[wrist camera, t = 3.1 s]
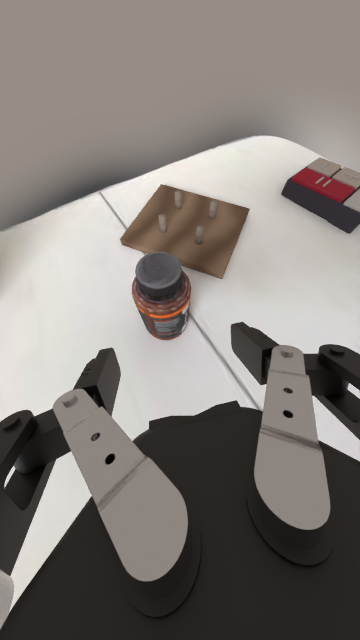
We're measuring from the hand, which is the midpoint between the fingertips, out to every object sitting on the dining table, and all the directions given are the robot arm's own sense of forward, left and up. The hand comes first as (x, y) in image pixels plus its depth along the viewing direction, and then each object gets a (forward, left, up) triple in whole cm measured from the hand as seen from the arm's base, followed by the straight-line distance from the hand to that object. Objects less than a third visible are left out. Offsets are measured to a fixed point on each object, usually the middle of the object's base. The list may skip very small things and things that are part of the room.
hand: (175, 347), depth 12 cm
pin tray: (-8, +24, -12) cm, 28 cm away
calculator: (+15, +42, -12) cm, 47 cm away
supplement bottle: (-4, +6, -12) cm, 14 cm away
